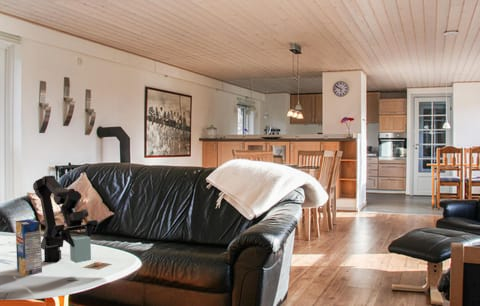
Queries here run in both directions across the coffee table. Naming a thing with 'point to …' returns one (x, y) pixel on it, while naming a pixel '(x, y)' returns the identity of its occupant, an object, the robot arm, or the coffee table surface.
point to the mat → (72, 280)
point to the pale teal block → (80, 249)
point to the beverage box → (28, 246)
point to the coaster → (98, 266)
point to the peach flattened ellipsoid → (97, 264)
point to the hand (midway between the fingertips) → (81, 245)
